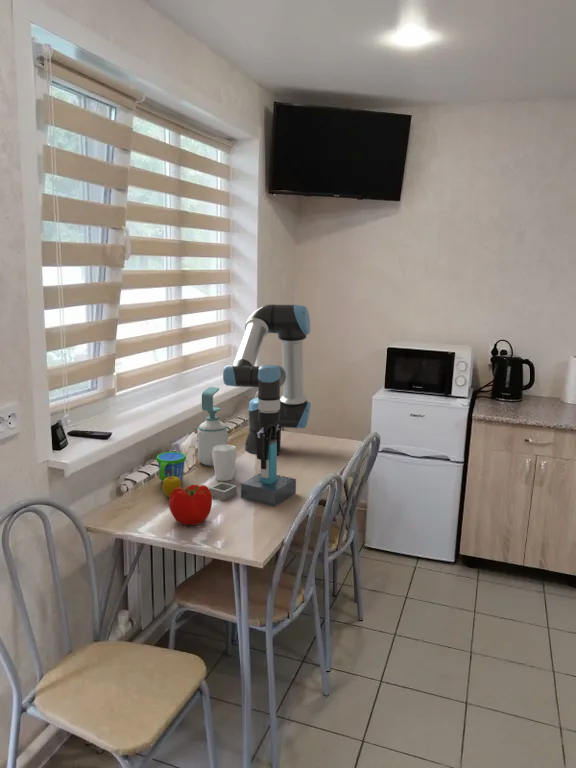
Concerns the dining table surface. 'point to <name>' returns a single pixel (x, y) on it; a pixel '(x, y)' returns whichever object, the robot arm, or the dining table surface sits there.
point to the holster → (223, 490)
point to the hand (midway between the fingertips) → (268, 475)
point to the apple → (170, 485)
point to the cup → (224, 461)
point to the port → (268, 490)
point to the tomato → (190, 504)
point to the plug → (271, 463)
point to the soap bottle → (210, 429)
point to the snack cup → (171, 465)
